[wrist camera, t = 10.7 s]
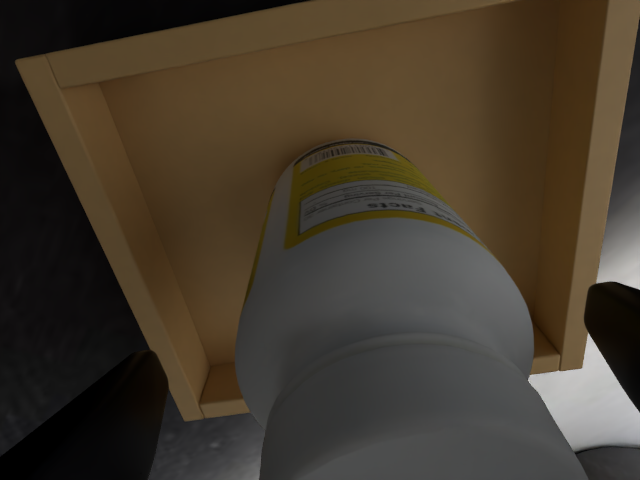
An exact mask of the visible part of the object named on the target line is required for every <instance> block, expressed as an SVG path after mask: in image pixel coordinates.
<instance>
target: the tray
mask: <svg viewBox="0 0 640 480" xmlns="http://www.w3.org/2000/svg"><path fill="white" fill-rule="evenodd" d="M639 16H640V0H310V1H305V2H300V3H295V4H290V5H285V6H280V7H275V8H270V9H265V10H260V11H255V12H250V13H245V14H240V15H235V16H230V17H225V18H220V19H215V20H210V21H205V22H200V23H195V24H190V25H186V26H181V27H176V28H171V29H166V30H161V31H156V32H151V33H146V34H141V35H136V36H131V37H126V38H121V39H116V40H111V41H106V42H101V43H96V44H91V45H86V46H81V47H76V48H71V49H66V50H61V51H56V52H51V53H47V54H42V55H37V56H32V57H27V58H22V59H17V60H16V61H15V64H16V66H17V68H18V70H19V73H20V75H21V77H22V79H23V81H24V83H25V85H26V87H27V90H28V92H29V94H30V96H31V98H32V100H33V102H34V104H35V106H36V109H37V111H38V113H39V115H40V117H41V119H42V121H43V123H44V125H45V128H46V130H47V132H48V134H49V136H50V138H51V140H52V142H53V144H54V147H55V149H56V151H57V153H58V155H59V157H60V159H61V161H62V164H63V166H64V168H65V170H66V172H67V174H68V176H69V178H70V180H71V183H72V185H73V187H74V189H75V191H76V193H77V195H78V197H79V199H80V202H81V204H82V206H83V208H84V210H85V212H86V214H87V216H88V218H89V221H90V223H91V225H92V227H93V229H94V231H95V233H96V235H97V238H98V240H99V242H100V244H101V246H102V248H103V250H104V252H105V254H106V257H107V259H108V261H109V263H110V265H111V267H112V269H113V271H114V273H115V276H116V278H117V280H118V282H119V284H120V286H121V288H122V290H123V293H124V295H125V297H126V299H127V301H128V303H129V305H130V307H131V309H132V312H133V314H134V316H135V318H136V320H137V322H138V324H139V326H140V328H141V331H142V333H143V335H144V337H145V339H146V341H147V343H148V345H149V347H150V350H152V351H154V352H155V353H156V354H157V356H158V358H159V360H160V362H161V364H162V367H163V369H164V371H165V373H166V375H167V378H168V383H169V390H170V392H171V394H172V396H173V398H174V400H175V402H176V405H177V407H178V409H179V411H180V413H181V415H182V417H183V419H184V421H191V420H199V419H203V418H204V417H205V418H212V417H219V416H227V415H234V414H241V413H249V412H250V410H249V408H248V407H247V405H246V403H245V401H244V399H243V396H242V394H241V391H240V388H239V385H238V380H237V376H236V369H235V344H236V337H237V331H238V325H239V319H240V315H241V311H242V307H243V303H244V299H245V295H246V291H247V287H248V283H249V279H250V275H251V271H252V268H253V263H254V259H255V255H256V251H257V247H258V243H259V239H260V235H261V231H262V227H263V223H264V218H265V215H266V211H267V207H268V203H269V200H270V197H271V194H272V192H273V190H274V187H275V185H276V183H277V181H278V180H279V178H280V176H281V175H282V174H283V172H284V171H285V170H286V168H287V167H288V166H289V165H290V164H291V163H292V162H293V161H294V160H296V159H297V158H298V157H299V156H300V155H302V154H303V153H305V152H306V151H308V150H310V149H312V148H313V147H316V146H318V145H320V144H323V143H326V142H330V141H334V140H340V139H351V138H355V139H366V140H371V141H375V142H378V143H381V144H384V145H386V146H388V147H390V148H392V149H394V150H396V151H397V152H399V153H400V154H402V155H403V156H404V157H406V158H407V159H408V160H409V161H410V162H412V163H413V164H414V165H415V166H416V167H417V168H418V169H419V171H420V172H421V173H422V174H423V175H424V176H425V177H426V179H427V180H428V181H429V182H430V183H431V184H432V185H433V186H434V188H435V189H436V190H437V191H438V192H439V193H440V194H441V196H442V197H443V198H444V199H445V200H446V201H447V202H448V204H449V205H450V206H451V207H452V208H453V209H454V210H455V212H456V213H457V214H458V215H459V216H460V217H461V218H462V220H463V221H464V222H465V223H466V224H467V225H468V226H469V228H470V229H471V230H472V231H473V232H474V233H475V234H476V236H477V237H478V238H479V239H480V240H481V241H482V243H483V244H484V245H485V246H486V247H487V248H488V249H489V250H490V251H491V252H492V254H493V255H494V256H495V257H496V258H497V260H498V261H499V262H500V263H501V264H502V266H503V267H504V268H505V270H506V271H507V273H508V274H509V276H510V277H511V279H512V280H513V282H514V283H515V285H516V286H517V288H518V289H519V291H520V293H521V295H522V297H523V299H524V301H525V303H526V305H527V308H528V311H529V315H530V318H531V322H532V326H533V334H534V356H533V364H532V368H531V372H530V375H532V374H540V373H547V372H554V371H558V370H559V371H566V370H573V369H581V368H582V366H583V360H584V353H585V347H586V341H587V335H588V331H587V329H586V327H585V324H584V311H585V305H586V298H587V292H588V289H589V287H590V286H591V285H593V284H596V280H597V274H598V268H599V262H600V255H601V249H602V243H603V237H604V231H605V225H606V219H607V213H608V206H609V200H610V194H611V188H612V182H613V176H614V170H615V163H616V157H617V151H618V145H619V139H620V133H621V127H622V121H623V114H624V108H625V102H626V96H627V90H628V84H629V78H630V72H631V65H632V59H633V53H634V47H635V41H636V35H637V29H638V22H639Z"/></svg>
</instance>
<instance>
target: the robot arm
mask: <svg viewBox="0 0 640 480" xmlns="http://www.w3.org/2000/svg"><path fill="white" fill-rule="evenodd" d="M584 324H585V327H586V329H587V331H588V333H589V334H590V336H591V338H592V339H593V341H594V342H595V344H596V346H597V347H598V349H599V351H600V352H601V354H602V355H603V357H604V359H605V360H606V362H607V364H608V365H609V367H610V368H611V370H612V372H613V373H614V375H615V376H616V378H617V380H618V381H619V383H620V385H621V386H622V388H623V389H624V391H625V392H626V394H627V395H628V397H629V398H630V400H631V401H632V402H633V404H634V405H635V406H636V408H637V409H638V411H639V412H640V290H638V289H635V288H632V287H629V286H626V285H623V284H620V283H617V282H604V283H597V284H593V285H591V286H590V287H589V289H588V292H587V298H586V305H585V311H584ZM168 388H169V383H168V378H167V375H166V373H165V371H164V369H163V367H162V364H161V362H160V360H159V358H158V356H157V354H156V353H155V352H154V351H152V350H146V351H139V352H134V353H132V354H131V355H129V356H128V357H127V358H126V359H124V360H123V361H122V362H120V363H119V364H118V365H117V366H115V367H114V368H113V369H112V370H110V371H109V372H108V373H106V374H105V375H104V376H103V377H101V378H100V379H99V380H98V381H96V382H95V383H94V384H92V385H91V386H90V387H89V388H87V389H86V390H85V391H84V392H82V393H81V394H80V395H78V396H77V397H76V398H75V399H73V400H72V401H71V402H70V403H68V404H67V405H66V406H64V407H63V408H62V409H61V410H59V411H58V412H57V413H56V414H54V415H53V416H52V417H51V418H49V419H48V420H47V421H45V422H44V423H43V424H42V425H40V426H39V427H38V428H37V429H35V430H34V431H33V432H31V433H30V434H29V435H28V436H26V437H25V438H24V439H23V440H21V441H20V442H19V443H17V444H16V445H15V446H14V447H12V448H11V449H10V450H9V451H7V452H6V453H5V454H3V455H2V456H1V457H0V480H148V479H149V475H150V472H151V468H152V465H153V461H154V458H155V453H156V449H157V444H158V439H159V434H160V429H161V424H162V419H163V414H164V409H165V404H166V399H167V394H168Z"/></svg>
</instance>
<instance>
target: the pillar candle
mask: <svg viewBox="0 0 640 480" xmlns="http://www.w3.org/2000/svg"><path fill="white" fill-rule="evenodd" d="M576 457H577V458H578V460H579V462H580V463H581V465H582V467H583V469H584V471H585V473H586V475H587V477H588V479H589V480H640V449H633V448H617V447H606V448H599V449H592V450H589V451H584V452H582V453H579V454H576Z"/></svg>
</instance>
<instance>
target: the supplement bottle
mask: <svg viewBox="0 0 640 480" xmlns="http://www.w3.org/2000/svg"><path fill="white" fill-rule="evenodd" d="M533 356H534V334H533V326H532V322H531V318H530V315H529V311H528V308H527V305H526V303H525V301H524V299H523V297H522V295H521V293H520V291H519V289H518V288H517V286H516V285H515V283H514V282H513V280H512V279H511V277H510V276H509V274H508V273H507V271H506V270H505V268H504V267H503V266H502V264H501V263H500V262H499V261H498V260H497V258H496V257H495V256H494V255H493V254H492V252H491V251H490V250H489V249H488V248H487V247H486V246H485V245H484V244H483V243H482V241H481V240H480V239H479V238H478V237H477V236H476V234H475V233H474V232H473V231H472V230H471V229H470V228H469V226H468V225H467V224H466V223H465V222H464V221H463V220H462V218H461V217H460V216H459V215H458V214H457V213H456V212H455V210H454V209H453V208H452V207H451V206H450V205H449V204H448V202H447V201H446V200H445V199H444V198H443V197H442V196H441V194H440V193H439V192H438V191H437V190H436V189H435V188H434V186H433V185H432V184H431V183H430V182H429V181H428V180H427V179H426V177H425V176H424V175H423V174H422V173H421V172H420V171H419V169H418V168H417V167H416V166H415V165H414V164H413V163H412V162H410V161H409V160H408V159H407V158H406V157H404V156H403V155H402V154H400V153H399V152H397V151H396V150H394V149H392V148H390V147H388V146H386V145H384V144H381V143H378V142H375V141H371V140H366V139H355V138H351V139H340V140H334V141H330V142H326V143H323V144H320V145H318V146H316V147H313V148H312V149H310V150H308V151H306V152H305V153H303V154H302V155H300V156H299V157H298V158H297V159H296V160H294V161H293V162H292V163H291V164H290V165H289V166H288V167H287V168H286V170H285V171H284V172H283V174H282V175H281V176H280V178H279V180H278V181H277V183H276V185H275V187H274V190H273V192H272V194H271V197H270V200H269V203H268V207H267V211H266V215H265V218H264V223H263V227H262V231H261V235H260V239H259V243H258V247H257V251H256V255H255V259H254V263H253V268H252V271H251V275H250V279H249V283H248V287H247V291H246V295H245V299H244V303H243V307H242V311H241V315H240V319H239V325H238V331H237V337H236V344H235V369H236V376H237V380H238V385H239V388H240V391H241V394H242V396H243V399H244V401H245V403H246V405H247V407H248V408H249V410H250V412H251V413H252V415H253V417H254V418H255V419H256V421H257V422H258V423H259V424H260V426H261V427H262V428H263V429H264V430H265V438H264V442H263V448H262V454H261V468H260V477H259V480H589V479H588V477H587V475H586V473H585V471H584V469H583V467H582V465H581V463H580V462H579V460H578V458H577V457H576V455H575V453H574V452H573V450H572V449H571V447H570V445H569V444H568V442H567V441H566V439H565V437H564V436H563V434H562V432H561V431H560V429H559V428H558V426H557V424H556V423H555V421H554V419H553V418H552V416H551V414H550V412H549V411H548V409H547V407H546V405H545V403H544V402H543V400H542V398H541V397H540V395H539V394H538V392H537V391H536V390H535V389H534V388H533V387H532V386H531V385H530V383H529V382H528V378H529V375H530V372H531V368H532V364H533Z"/></svg>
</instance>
